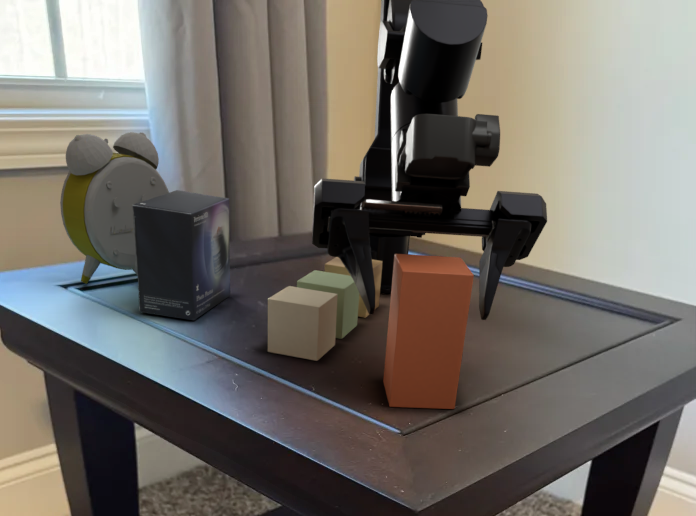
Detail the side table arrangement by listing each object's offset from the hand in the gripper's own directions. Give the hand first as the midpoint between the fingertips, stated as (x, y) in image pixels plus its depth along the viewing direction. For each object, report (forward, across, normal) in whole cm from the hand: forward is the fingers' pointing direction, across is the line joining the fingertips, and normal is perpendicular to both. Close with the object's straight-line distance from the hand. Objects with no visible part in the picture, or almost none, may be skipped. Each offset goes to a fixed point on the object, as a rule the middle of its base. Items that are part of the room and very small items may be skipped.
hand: (429, 314), depth 62 cm
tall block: (+4, 0, +6) cm, 7 cm away
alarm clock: (-17, -29, +28) cm, 44 cm away
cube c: (-3, -10, +13) cm, 17 cm away
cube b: (-8, -7, +18) cm, 21 cm away
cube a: (-13, -4, +23) cm, 27 cm away
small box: (-11, -22, +22) cm, 33 cm away
